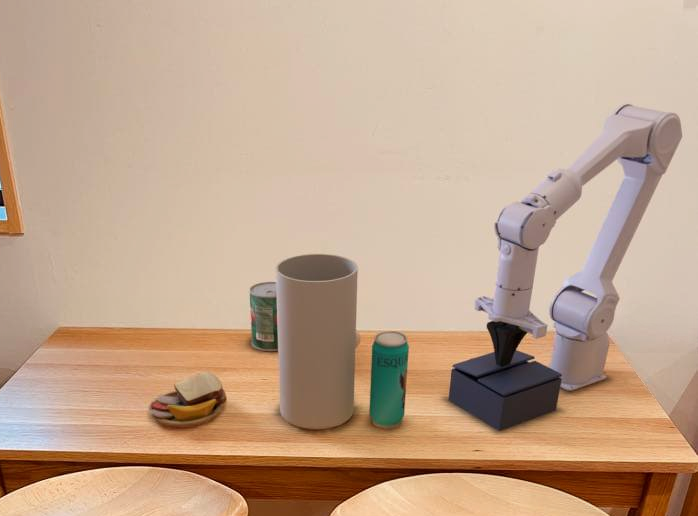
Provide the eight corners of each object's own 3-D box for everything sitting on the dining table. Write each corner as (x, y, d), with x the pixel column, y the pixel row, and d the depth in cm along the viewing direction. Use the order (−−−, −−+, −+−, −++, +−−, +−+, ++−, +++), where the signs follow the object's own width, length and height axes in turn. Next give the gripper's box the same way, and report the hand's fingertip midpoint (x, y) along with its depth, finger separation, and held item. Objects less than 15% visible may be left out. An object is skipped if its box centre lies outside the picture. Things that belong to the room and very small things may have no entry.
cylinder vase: (269, 424, 141) (263, 276, 126) (294, 391, 150) (292, 250, 135) (340, 436, 137) (343, 285, 122) (362, 402, 147) (367, 258, 132)
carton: (448, 400, 147) (451, 364, 143) (503, 381, 152) (508, 347, 148) (498, 431, 138) (504, 394, 134) (555, 410, 143) (562, 374, 139)
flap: (452, 366, 143) (452, 364, 143) (508, 349, 148) (508, 347, 148) (477, 377, 138) (477, 374, 138) (534, 358, 143) (534, 356, 143)
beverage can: (401, 432, 138) (407, 346, 129) (366, 429, 139) (370, 343, 130) (405, 415, 143) (411, 331, 134) (371, 412, 144) (374, 329, 135)
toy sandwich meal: (142, 401, 148) (139, 377, 145) (217, 389, 152) (215, 364, 149) (157, 435, 139) (153, 409, 136) (236, 421, 142) (234, 395, 139)
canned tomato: (250, 336, 170) (247, 282, 163) (289, 333, 171) (288, 280, 164) (253, 352, 164) (250, 297, 157) (293, 350, 164) (292, 295, 158)
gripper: (464, 275, 136) (456, 354, 145) (528, 304, 126) (515, 386, 135) (497, 267, 139) (487, 344, 147) (562, 294, 129) (547, 375, 138)
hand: (502, 363), depth 141 cm, fingers closed
